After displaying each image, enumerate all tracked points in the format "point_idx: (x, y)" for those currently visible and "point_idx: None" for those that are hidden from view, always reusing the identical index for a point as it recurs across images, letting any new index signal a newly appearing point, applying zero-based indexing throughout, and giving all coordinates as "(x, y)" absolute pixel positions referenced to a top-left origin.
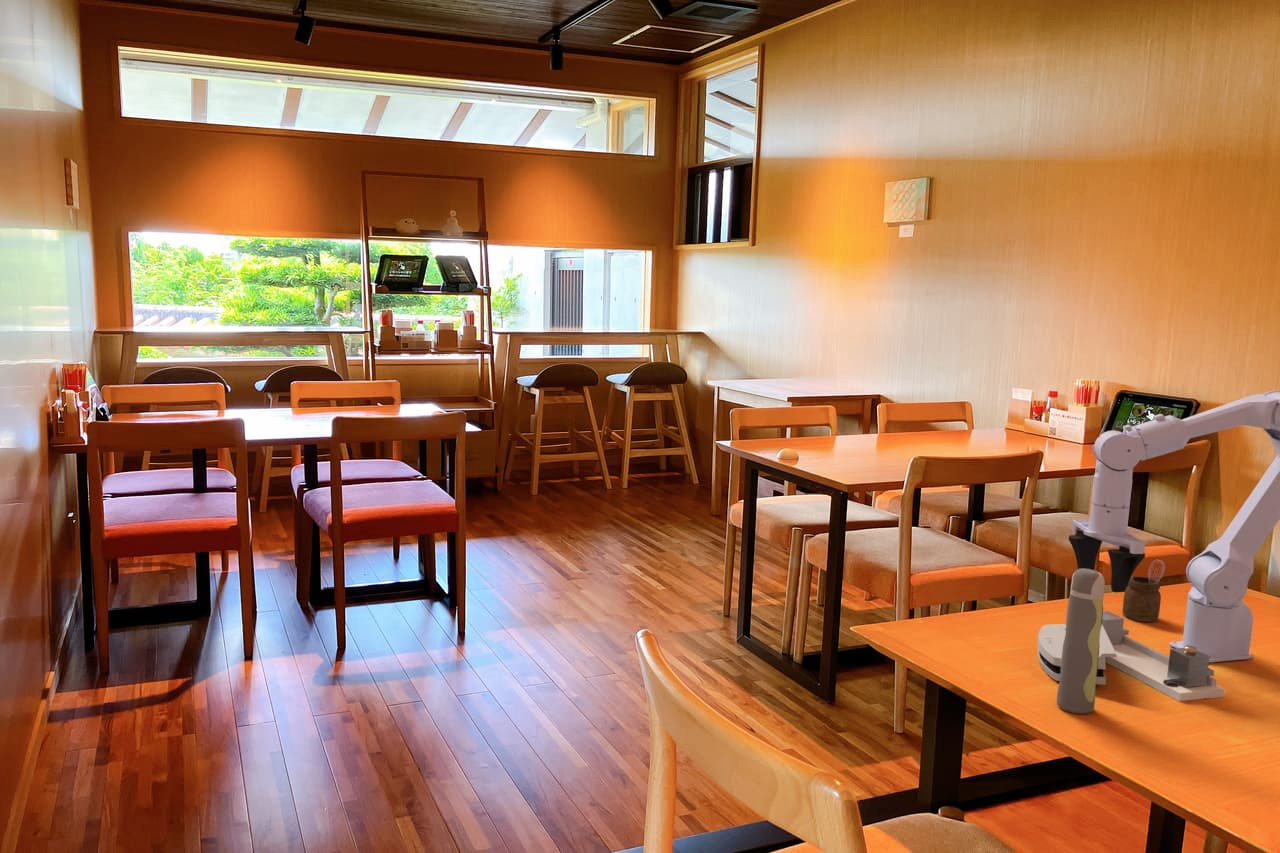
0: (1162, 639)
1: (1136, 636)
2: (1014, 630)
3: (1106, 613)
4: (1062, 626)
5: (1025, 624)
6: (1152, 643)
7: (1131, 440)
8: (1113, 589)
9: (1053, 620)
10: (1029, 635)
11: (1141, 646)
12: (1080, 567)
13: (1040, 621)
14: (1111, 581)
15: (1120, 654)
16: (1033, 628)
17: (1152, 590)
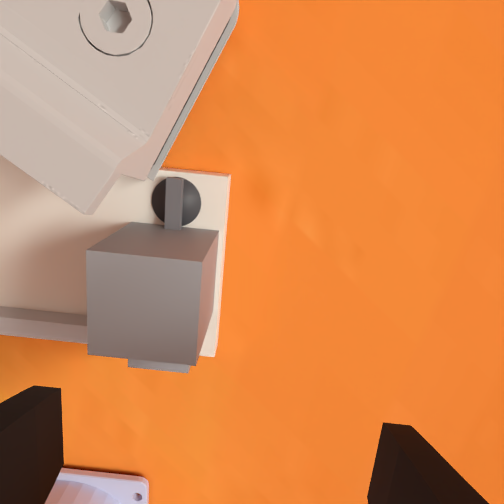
0: (199, 500)
1: (243, 451)
2: (455, 51)
3: (171, 334)
4: (161, 27)
5: (489, 160)
6: (179, 448)
7: None
8: (26, 392)
9: (473, 308)
10: (382, 74)
11: (43, 321)
12: (426, 478)
13: (488, 250)
14: (5, 425)
15: (42, 218)
16: (439, 158)
17: None
